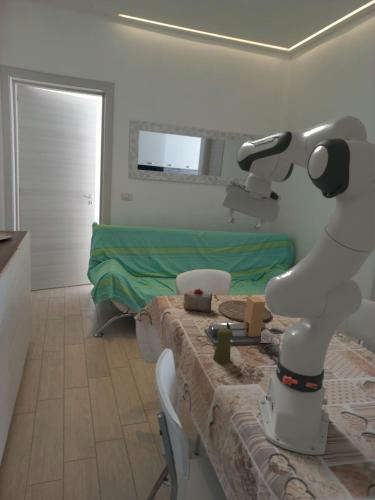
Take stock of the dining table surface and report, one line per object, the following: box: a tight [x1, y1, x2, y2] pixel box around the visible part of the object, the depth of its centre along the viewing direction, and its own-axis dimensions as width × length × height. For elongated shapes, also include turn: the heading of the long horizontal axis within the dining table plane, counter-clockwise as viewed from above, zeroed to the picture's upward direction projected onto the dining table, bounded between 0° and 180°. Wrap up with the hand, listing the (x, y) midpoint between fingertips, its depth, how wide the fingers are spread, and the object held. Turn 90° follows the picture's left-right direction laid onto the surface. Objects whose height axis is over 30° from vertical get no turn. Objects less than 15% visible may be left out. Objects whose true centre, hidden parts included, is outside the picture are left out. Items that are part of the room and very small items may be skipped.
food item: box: [183, 288, 213, 313], centre depth 162 cm, size 14×8×10 cm, turn 84°
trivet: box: [217, 299, 272, 323], centre depth 165 cm, size 25×25×2 cm
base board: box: [203, 328, 261, 346], centre depth 137 cm, size 24×12×1 cm, turn 105°
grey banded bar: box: [208, 322, 268, 338], centre depth 136 cm, size 23×4×5 cm, turn 105°
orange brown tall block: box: [243, 296, 266, 337], centre depth 137 cm, size 5×6×14 cm
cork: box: [212, 328, 233, 365], centre depth 118 cm, size 6×6×11 cm
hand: (243, 227), depth 122 cm, fingers open, 8 cm apart
